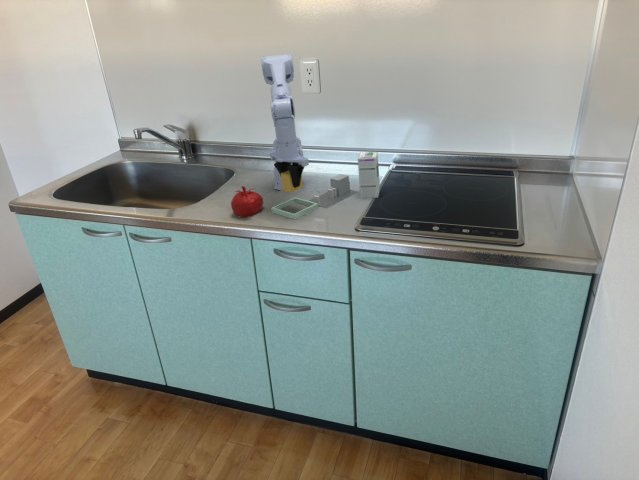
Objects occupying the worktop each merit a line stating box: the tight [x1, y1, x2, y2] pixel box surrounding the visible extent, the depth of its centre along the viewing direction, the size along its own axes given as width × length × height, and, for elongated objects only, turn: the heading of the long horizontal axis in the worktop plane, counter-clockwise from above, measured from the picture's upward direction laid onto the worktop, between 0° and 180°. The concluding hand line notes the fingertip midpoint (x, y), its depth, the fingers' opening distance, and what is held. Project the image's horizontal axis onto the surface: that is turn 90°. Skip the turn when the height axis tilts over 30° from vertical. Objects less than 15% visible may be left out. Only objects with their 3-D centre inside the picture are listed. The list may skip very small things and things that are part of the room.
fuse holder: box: [309, 181, 359, 209], centre depth 157 cm, size 9×16×4 cm, turn 137°
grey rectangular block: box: [329, 173, 351, 197], centre depth 159 cm, size 4×5×6 cm
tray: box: [271, 196, 319, 220], centre depth 151 cm, size 10×10×3 cm
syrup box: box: [357, 151, 381, 199], centre depth 154 cm, size 6×6×14 cm
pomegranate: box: [230, 185, 264, 218], centre depth 153 cm, size 10×10×9 cm
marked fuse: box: [281, 170, 304, 194], centre depth 147 cm, size 4×5×6 cm
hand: (292, 185), depth 147 cm, fingers closed on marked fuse, 3 cm apart
